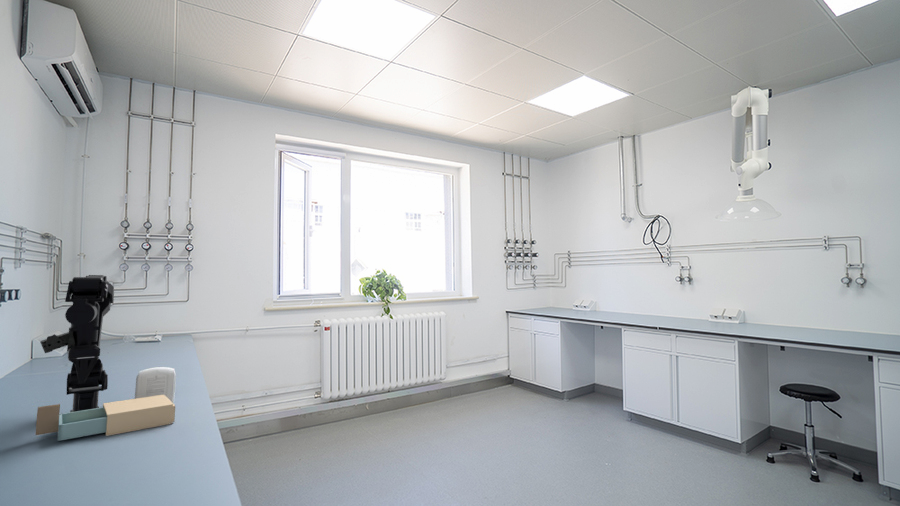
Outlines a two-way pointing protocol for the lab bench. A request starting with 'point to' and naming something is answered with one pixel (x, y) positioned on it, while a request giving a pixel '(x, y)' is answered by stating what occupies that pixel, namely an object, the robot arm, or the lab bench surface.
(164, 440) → the lab bench surface
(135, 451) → the lab bench surface
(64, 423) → the tray
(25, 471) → the lab bench surface
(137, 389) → the white product package
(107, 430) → the sleeve
